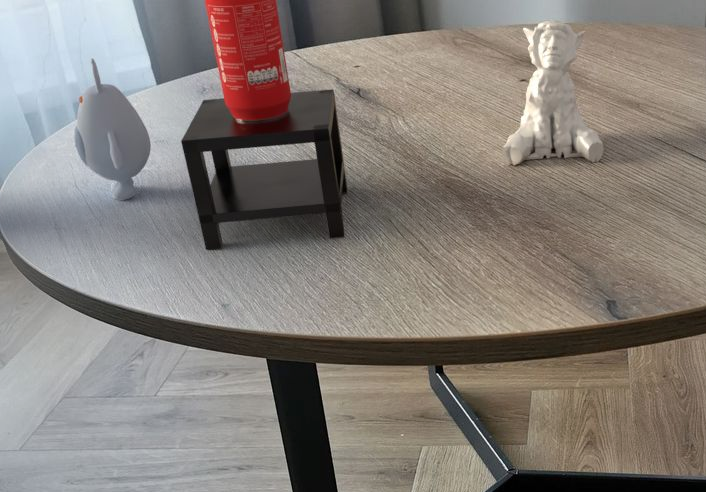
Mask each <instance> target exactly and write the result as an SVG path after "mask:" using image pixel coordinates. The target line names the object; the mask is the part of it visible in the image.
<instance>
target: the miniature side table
mask: <svg viewBox="0 0 706 492" xmlns="http://www.w3.org/2000/svg"><path fill="white" fill-rule="evenodd" d="M335 96H336V95H335V90H334V89H320V90H310V91H309V90H307V91H295V92H291V99H290V102H289V106H288V112H287V113H286V114H285V115H283V116H280V117H277V118H274V119H270V120H264V121H240V120H236V119H234V118H233V115H232V113H231V111H230V110H229V108H228V107H227V106H226V104H225V100H224V97H223V98H212V99H203V100H202V101H201V103H200V106H199V107H198V109H197V111H196V112H195V114H194V116H193V118H192V120H191V122H190V123H189V126H188V128H187V130H186V131H185V132H184V135H183V137H182V138H181V141H180V143H181V146H182V152H183V155H184V161H185V164H186V169H187V172H188V173H187V174H188V177H189V181H190V185H191V190H192V195H193V199H194V203H195V208H196V213H197V217H198V222H199V225H200V230H201V235H202V239H203V243H204V247H205V250H206V251H209V250H220V249H222V246H223V236H222V233H221V228H220V224H222V223H234V222H244V221H255V220H264V219H265V220H266V219H267V220H268V219H277V218H289V217H299V216H310V215H322V214H325V219H326V224H327V226H326V227H327V232H328V238H329V239H330V240H331V239H339V238H340V239H341V238H345V235H346V234H345V233H346V231H345V223H344V217H343V210H342V200H343V199H342V198H343V194H347V193H348V182H347V176H346V168H345V167H346V166H345V162H344V155H343V147H342V139H341V133H340V132H341V131H340V126H339V117H338V111H337V103H336V97H335ZM311 143H314V147H315V148H314V149H315V154H316V158H312V159H301V160H290V161H278V162H277V161H276V162H268V163H267V162H265V163H255V164H243V165H232V164H231V159H230V154H229V150H240V149H241V150H242V149H253V148H264V147H265V148H266V147H276V146H289V145H297V144H298V145H300V144H311ZM205 152H211V158H212V161H213V166H214V170H215V173H214V175H213V178H212V180H211V182H210V178H209V173H208V167H207V163H206V159H205V154H204V153H205Z"/></svg>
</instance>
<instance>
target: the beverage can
mask: <svg viewBox="0 0 706 492" xmlns="http://www.w3.org/2000/svg"><path fill="white" fill-rule="evenodd" d="M204 4H205V10H206V14H207V19H208V24H209V30H210V34H211V39H212V44H213V50H214V54H215V59H216V64H217V70H218V75H219V79H220V85H221V89H222V90H221V91H222V95H223V98H224V100H225V104H226V106H227V107H228V108H229V110H230V111H231V113H232V115H233V118H234V119H236V120H240V121H264V120H270V119H274V118H277V117H280V116H283V115H285V114H286V113H287V112H288V106H289V102H290V99H291V93H292V91H291V86H290V78H289V74H288V67H287V62H286V61H287V60H286V55H285V48H284V41H283V35H282V30H281V24H280V18H279V12H278V6H277V0H204Z"/></svg>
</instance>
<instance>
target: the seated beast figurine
mask: <svg viewBox="0 0 706 492" xmlns="http://www.w3.org/2000/svg"><path fill="white" fill-rule="evenodd" d="M522 31H523V33H524V35H525V37H526V39H527V41H528V43H529V45H528V47H527V51H528V52H529V58H530V60H531V64H532V65H534V66H535V68H537V69H536V70H534V72H533V74H532V76H531V78H530V79H529V84H528V86H527V88H526V91H525V98H526V99H525V100H526V101H525V105H524V106H525V107H524V109H523V115H522V116H521V117H520V122H519V124H520V126H519V128H518V129H517V130H516V131H515V132H514V133H512V134H510V135H509V136H508V137H507V141H506V142H505V144H504V145H503V147H502V149H501V153H500V154H501V158H502V160H503V161H504V162H505V164H507V165H512V166H514V167H515V166H517V165H521V164H522V163H523V162H524V161H529V160H542V159H544V157H546V159H547V160H548V159H550V158H551V157H557V158H558V159H561V158H562V155H563V157H564V159H568V158H584V159H586V160H587V161H588V162H591V163H598V162H600V160H602V159H601V158H602V157H603V155H604V151H605V150H604V144H603V141H602V140H601V139H600V136H599V134H598V133H597V132H596V131H595V130H594V129H593V128H591V127H588V125H586V123H585V120H584V119H583V117H582V116H581V110H580V108H579V105H578V103H577V99H578V98H577V92H576V89H575V86H576V85H575V84H574V81H573V78H571V77H570V73H569V72H568V71H569V68H570V66H571V65H572V63H573V62H575V61H576V60H577V59H578V53H577V52H578V50H579V49H580V47H581V45H582V42H583V38H584V36H585V34H586V33H587V30H582V31H580V32H578V33H576V32H574V31H573V28H572V26H571V25H570V24H568V23H564V22H562V21H561V20H558V19H552V20H548V19H547V20H546V21H545V20H544V21H543V22H539V23H538V24H537V26H535V27H534V29H531V28H529V27H523V28H522ZM552 150H555V153H552Z"/></svg>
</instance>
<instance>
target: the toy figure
mask: <svg viewBox="0 0 706 492" xmlns="http://www.w3.org/2000/svg"><path fill="white" fill-rule="evenodd" d="M90 66H91V71H92V77H93V81H94V84H95V85H91V86H89V87H87V88H86V89H84V91H83V92H82V94H81V95H80V97H79V98H78V101H79V106H78V110H77V115H76V125H75V128H74V136H73V137H74V144H75V148H76V151H77V153H78V156H79V158H80V159H81V161H82V163H83V164H84V165H85V166H86V167H88V168H89V169H90V171H92V172H93V173H95V174H96V175H98V176H99V177H101V178H103V179H106V180H108V181H113V182H112V183H111V185H110V188H111V190H112V192H111V193H112V194H111V195H112V198H114V199H115V200H117V201H126V200H129V199H131V198H132V197H133V196H134V195H135V193H136V186H135V185H134V183H135V182H134V181H135V180H134V179H133V178H134V177H136V176H138V175H139V174H140V172H142V170H143V169H144V168H145V167H146V165H147V163H148V160H149V158H150V154H151V149H152V148H151V146H152V145H151V138H150V135H149V132H148V130H147V127H146V125H145V123H144V121H143V120H142V118H141V117H140V115H139V113H138V111H137V110H136V109H135V107H134V106H133V104H132V103H131V102H130V101H129V99H128V98H127V97H126V96H125V94H124V93H123V92H122V91H121V90H120V89H119V88H118V87H117V86H115V85H113V84H107V83H101V82H102V81H101V76H100V72H99V69H98V66H97V63H96V61H95V59H94V58H90Z"/></svg>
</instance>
